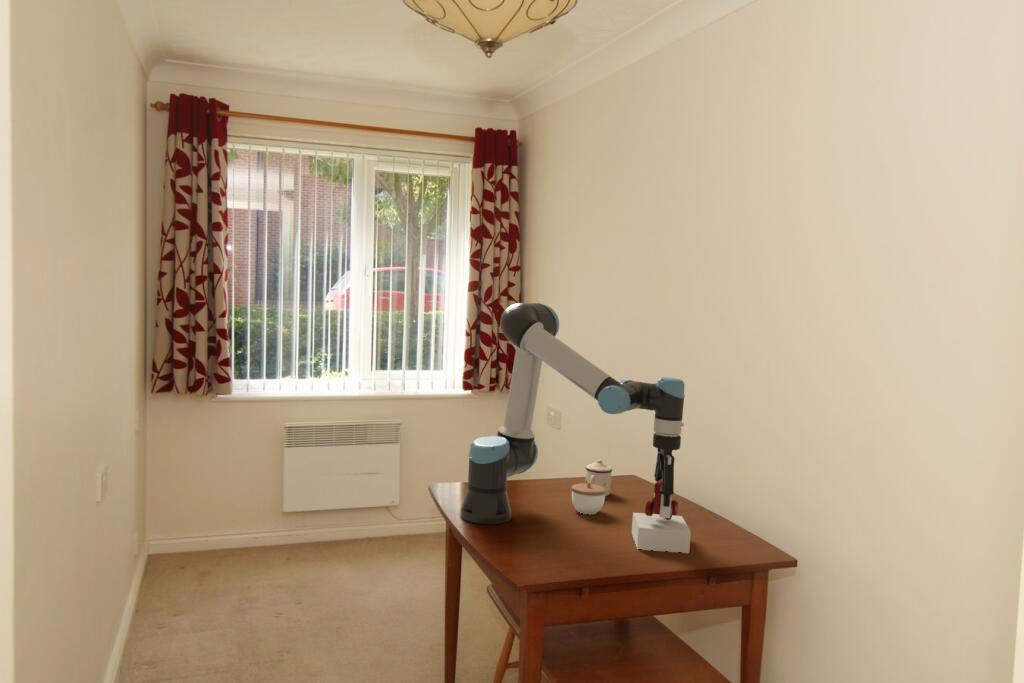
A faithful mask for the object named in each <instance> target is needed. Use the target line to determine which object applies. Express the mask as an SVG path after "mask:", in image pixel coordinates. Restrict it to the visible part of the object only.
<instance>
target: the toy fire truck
mask: <svg viewBox="0 0 1024 683" xmlns="http://www.w3.org/2000/svg"><path fill="white" fill-rule="evenodd" d="M655 482H656V483H655ZM655 482H654V491H653V492H654V493H655V497H654V496H653V497H652V499H651V501H650V500H647V502H646V504H645V508H644V509H645V510H644V512H645V514H646V515H647V516H652V515H653V514H658V515H660V504H661V494H660V491H662V479H660V480H659V481H658V482H657V481H655ZM669 490H670V489H669ZM654 493H653V494H654ZM678 510H679V502H678V501H677V500H672V499H671V512H670V518H665V519H667V520H670V519H671V518H672V516H677V513H678Z"/></svg>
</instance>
